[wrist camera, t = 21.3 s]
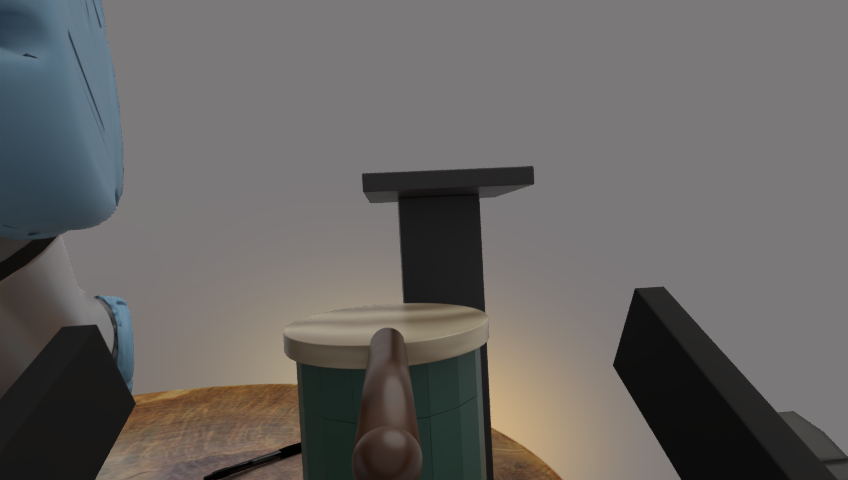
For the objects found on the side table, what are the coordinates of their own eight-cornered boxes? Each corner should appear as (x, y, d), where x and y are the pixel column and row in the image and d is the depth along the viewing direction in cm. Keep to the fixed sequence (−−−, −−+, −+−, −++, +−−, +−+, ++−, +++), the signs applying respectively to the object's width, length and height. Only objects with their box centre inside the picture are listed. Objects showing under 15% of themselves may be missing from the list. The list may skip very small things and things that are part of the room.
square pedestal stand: (552, 549, 38) (533, 165, 38) (384, 568, 37) (361, 173, 37) (508, 464, 52) (494, 183, 52) (385, 476, 51) (369, 189, 50)
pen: (206, 483, 50) (204, 472, 50) (203, 485, 51) (201, 475, 52) (323, 442, 59) (321, 433, 59) (318, 446, 60) (316, 437, 61)
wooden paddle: (305, 325, 35) (303, 301, 35) (469, 314, 36) (468, 291, 36) (108, 546, 10) (102, 467, 10) (645, 491, 11) (642, 419, 11)
